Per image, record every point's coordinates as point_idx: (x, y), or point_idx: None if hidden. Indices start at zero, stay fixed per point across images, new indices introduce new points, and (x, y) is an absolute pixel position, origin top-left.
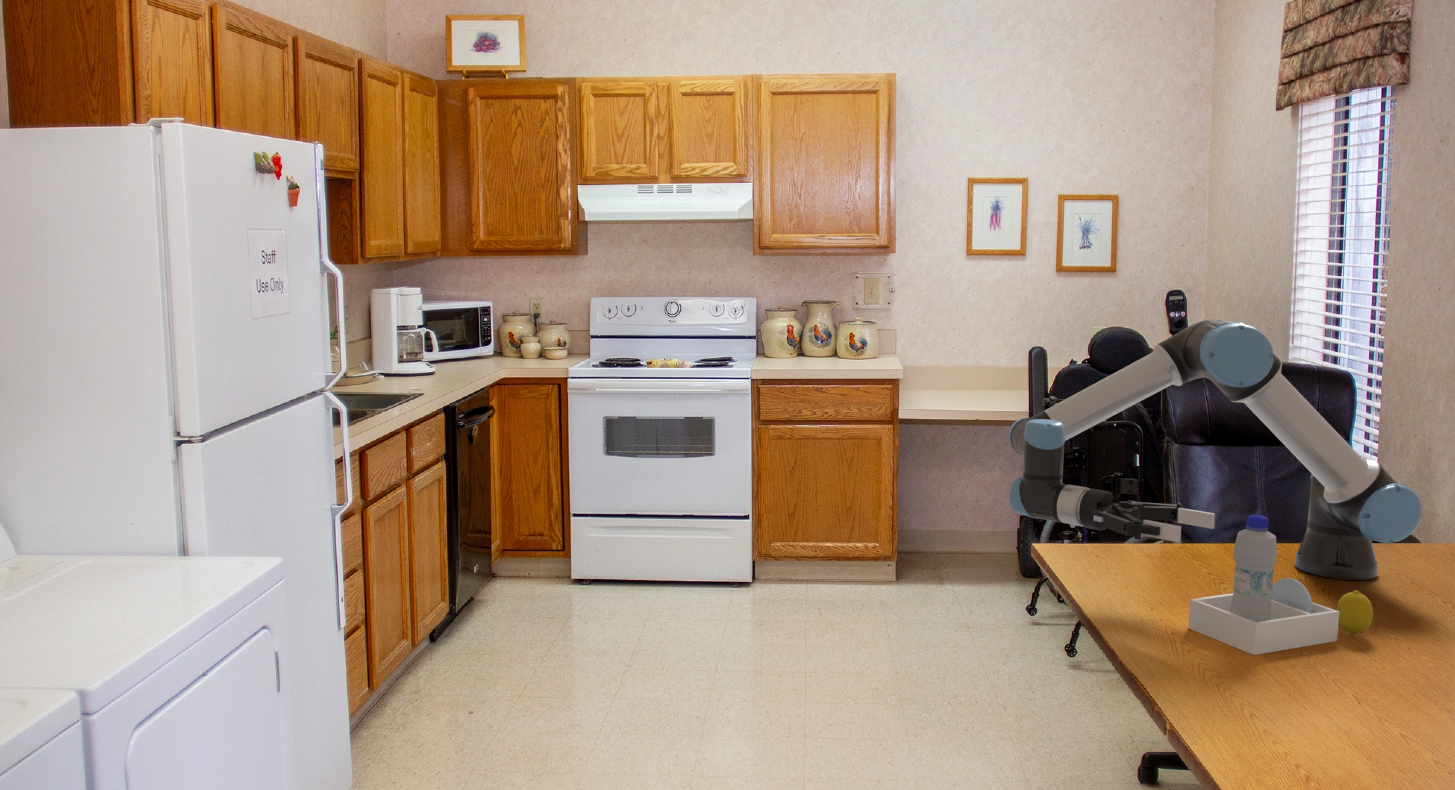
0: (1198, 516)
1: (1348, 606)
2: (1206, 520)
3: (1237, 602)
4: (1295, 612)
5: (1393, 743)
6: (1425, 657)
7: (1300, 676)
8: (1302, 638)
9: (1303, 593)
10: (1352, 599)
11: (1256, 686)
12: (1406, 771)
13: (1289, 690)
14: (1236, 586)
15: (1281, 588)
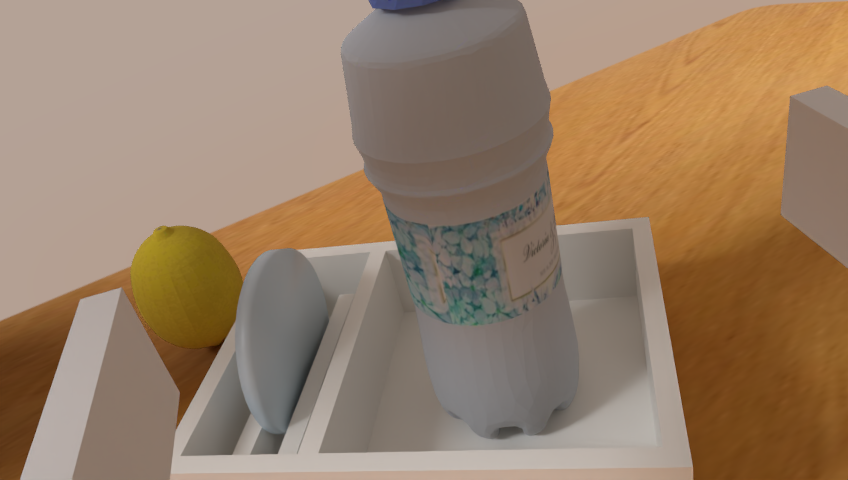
0: (119, 429)
1: (223, 253)
2: (143, 386)
3: (568, 306)
4: (377, 289)
5: (734, 48)
6: (255, 231)
7: (649, 202)
8: None
9: (298, 261)
10: (202, 236)
11: None
12: (796, 10)
13: (751, 161)
14: (555, 262)
15: (269, 335)
